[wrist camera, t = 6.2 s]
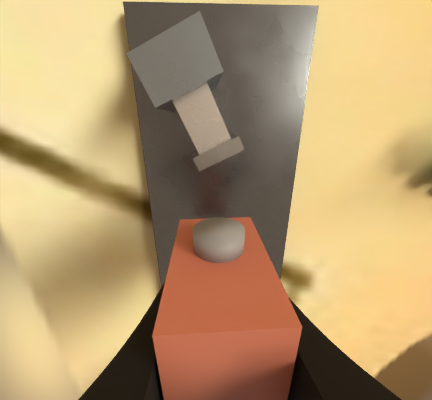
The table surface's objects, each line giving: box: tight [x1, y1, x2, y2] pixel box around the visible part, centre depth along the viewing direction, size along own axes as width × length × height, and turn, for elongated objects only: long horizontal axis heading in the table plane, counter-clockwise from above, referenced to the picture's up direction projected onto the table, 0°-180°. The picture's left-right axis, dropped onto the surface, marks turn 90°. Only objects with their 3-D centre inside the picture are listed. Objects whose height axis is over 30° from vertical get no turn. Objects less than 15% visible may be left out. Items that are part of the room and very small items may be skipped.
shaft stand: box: [123, 2, 318, 287], centre depth 15 cm, size 24×12×6 cm, turn 0°
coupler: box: [152, 217, 302, 400], centre depth 9 cm, size 8×4×6 cm, turn 1°
